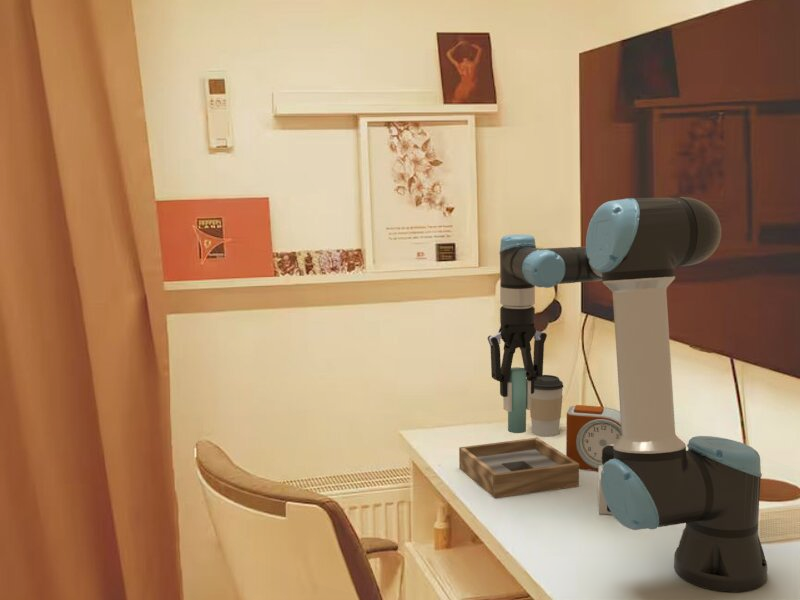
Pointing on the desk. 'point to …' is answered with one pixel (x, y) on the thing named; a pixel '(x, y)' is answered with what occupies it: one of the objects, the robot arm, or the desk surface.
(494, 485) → the socket box
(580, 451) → the alarm clock
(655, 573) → the desk surface
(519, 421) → the peg
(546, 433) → the coffee cup
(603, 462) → the container
